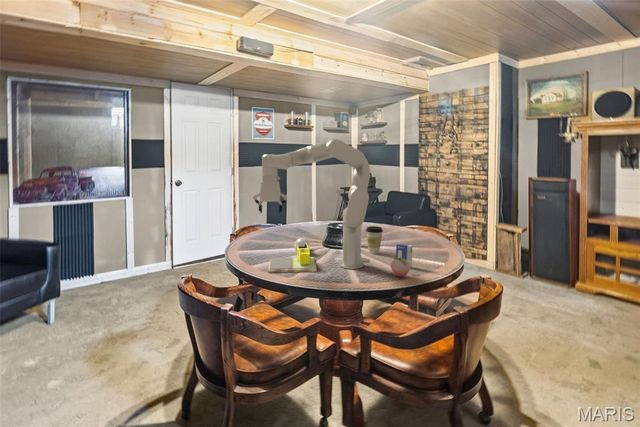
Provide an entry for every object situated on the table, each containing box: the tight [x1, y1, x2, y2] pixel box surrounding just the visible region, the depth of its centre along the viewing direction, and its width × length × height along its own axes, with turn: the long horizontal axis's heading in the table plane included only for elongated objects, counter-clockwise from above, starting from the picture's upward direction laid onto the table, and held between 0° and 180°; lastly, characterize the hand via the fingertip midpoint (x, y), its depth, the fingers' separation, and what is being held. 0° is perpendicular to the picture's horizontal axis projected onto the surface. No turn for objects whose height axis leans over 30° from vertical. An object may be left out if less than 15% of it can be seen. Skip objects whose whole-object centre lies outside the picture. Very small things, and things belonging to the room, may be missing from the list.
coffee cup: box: [365, 225, 384, 255], centre depth 231 cm, size 10×10×15 cm
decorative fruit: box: [390, 257, 411, 278], centre depth 188 cm, size 9×8×10 cm
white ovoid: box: [293, 237, 311, 252], centre depth 232 cm, size 9×10×15 cm
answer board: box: [267, 256, 317, 273], centre depth 206 cm, size 24×22×2 cm
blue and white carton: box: [395, 243, 414, 269], centre depth 204 cm, size 8×3×12 cm, turn 61°
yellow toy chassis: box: [296, 243, 311, 265], centre depth 208 cm, size 16×6×8 cm, turn 9°
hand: (270, 212), depth 201 cm, fingers open, 9 cm apart
